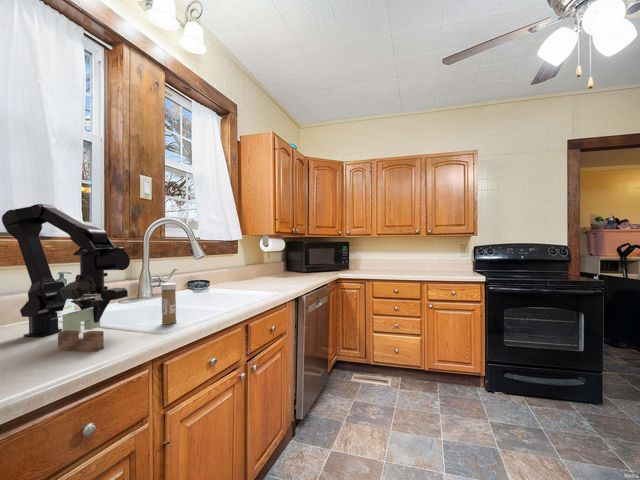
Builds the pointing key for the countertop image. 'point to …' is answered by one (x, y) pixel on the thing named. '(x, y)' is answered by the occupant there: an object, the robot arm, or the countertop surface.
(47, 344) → the countertop surface
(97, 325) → the green board
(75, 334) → the walnut rail
